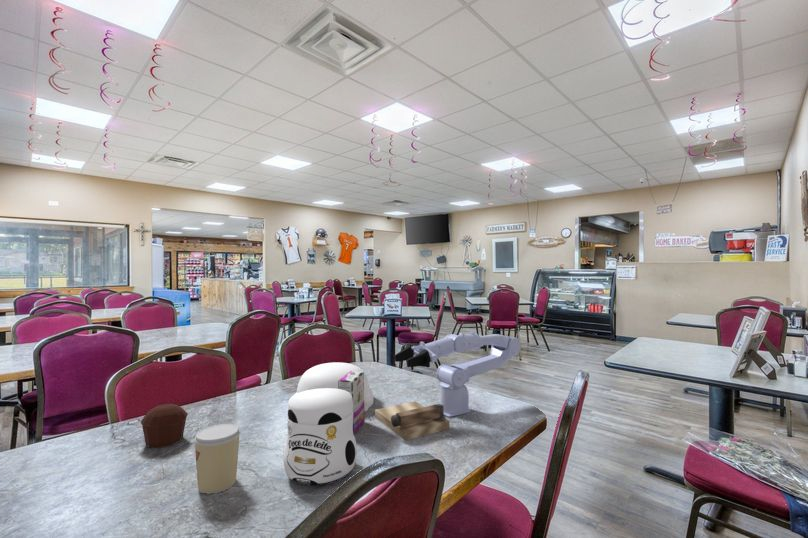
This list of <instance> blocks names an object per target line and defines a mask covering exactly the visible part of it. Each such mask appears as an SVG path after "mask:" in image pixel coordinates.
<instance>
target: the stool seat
mask: <svg viewBox="0 0 808 538" xmlns="http://www.w3.org/2000/svg"><path fill="white" fill-rule="evenodd" d="M422 407H426V406H424V404H423V405H422V404H421V403H419V402H417V401H412V402H411V401H410V402H405V403H401V404H397V405H396V404H395V405H391V406H386V407H381V408H377V409H375V410H374V418H375V419H376V420H377V421H379V422H380V423H382V424H383V425H384V426H386V427H387V428H388V429H389V430H391V431H392V433H395V435H396V436H398V437H400V438H401V439H402V440H403V441H409V440H412V439H417V438H419V437H421V438H422V437H424V436H429V435H431V434H435V433H439V432H443V431H447V430H450V419H447V416H446V415H444V416H443V417H440V418H436V419H432V420H428V421H424V422H419V423H415V424H411V425H407V426H403V427H400V426H397V427H393V425H392V423H391V417H392V415H396V413H399V412H404V411H408V410H413V409H418V408H422Z"/></svg>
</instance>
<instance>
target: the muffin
mask: <svg viewBox="0 0 808 538" xmlns="http://www.w3.org/2000/svg"><path fill="white" fill-rule="evenodd" d="M188 415H189V413H188V412H187V411H186V410H185V409H184V408H183V407H182V406H180V405H178V404H175V403H164V404H159V405H157V406H155V407H153V408H151V409H150V410H149V411H147V413H146V414H145V415H144V416H143V418H142V419H141V421H140V425H141V426H142V430H143V432H142V433H143V437H144V443H145V446H147V447H148V446H149V447H148V449H155V448H156V449H161V448H165V447H170V446H173V445H175V444H177V443H179V442H181V440H182V439H183V437H184V432H185V427H186V421H187V417H188ZM176 442H177V443H176ZM174 443H175V444H174ZM150 447H151V448H150ZM152 447H153V448H152Z"/></svg>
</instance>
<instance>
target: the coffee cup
mask: <svg viewBox="0 0 808 538" xmlns="http://www.w3.org/2000/svg"><path fill="white" fill-rule="evenodd" d="M240 434H241V429H240V428H239V425H237V424H234V423H219V424H214V425H210V426H207V427H204V428H202V429H201V430H199V431H198V432H197V433H196V434H195V436H194V440H193V441H194V444H195V445H194V448H195V463H196V478H197V488H198V491H199V492H200V493H201V494H204V493H207V494H208V495H211V494H210V493H214V494H218V492H219V493H221V491H222V492H225V491H226V489H227V490H229V489H230V488H232V487H233V486H234V485H235V483H236V481H237V474H238V473H237V471H238V463H239V462H238V461H239V460H238V459H239V447H240ZM232 485H233V486H232ZM207 494H206V495H207Z"/></svg>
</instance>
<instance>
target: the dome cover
mask: <svg viewBox="0 0 808 538" xmlns="http://www.w3.org/2000/svg"><path fill="white" fill-rule="evenodd" d="M350 371H363V372H364V412H367V411H369V408H370V407H372V406H373V404H374V402H373V401H375V400H374V392H373V390H372V388H370V383H369V379H368V376H367V374H366V372H365V371H364V370H363V369H362V368H360V367H359V366H357V365H355V364H352V363H348V362H338V361H337V362H335V361H333V362H327V363H321V364H317V365H314V366H312V367H311V368H309V369H307V370H306V371H305V372H304V373H302V376H300V379H299V380H298V385H297V388H296V392H295V393H294V394H293V395H295V394H297V393H300V392H303V391H306V390H312V389H320V388H335V389H338V380H340V379H341V378H342V377H344V376H345V375H346V374H347V373H349V372H350Z"/></svg>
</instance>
